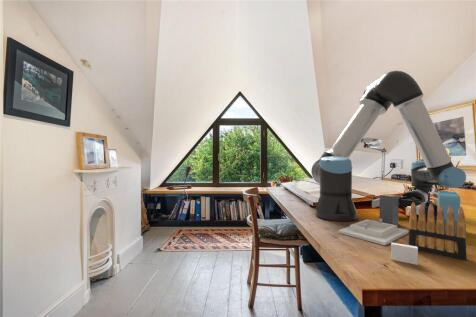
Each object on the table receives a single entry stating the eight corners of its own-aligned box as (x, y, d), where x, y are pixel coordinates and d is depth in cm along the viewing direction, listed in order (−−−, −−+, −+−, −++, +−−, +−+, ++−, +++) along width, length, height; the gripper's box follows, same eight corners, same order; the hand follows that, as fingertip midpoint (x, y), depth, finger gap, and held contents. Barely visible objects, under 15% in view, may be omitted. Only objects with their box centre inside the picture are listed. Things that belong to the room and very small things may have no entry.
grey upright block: (379, 224, 81) (379, 195, 81) (385, 221, 84) (385, 193, 84) (392, 226, 78) (392, 196, 78) (398, 224, 81) (398, 195, 81)
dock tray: (338, 232, 72) (338, 221, 72) (365, 223, 82) (365, 213, 82) (384, 245, 62) (384, 232, 62) (408, 232, 72) (408, 221, 72)
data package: (460, 238, 66) (460, 196, 66) (439, 235, 69) (439, 195, 69) (455, 228, 76) (455, 191, 76) (437, 226, 79) (437, 190, 78)
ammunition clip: (408, 248, 60) (408, 201, 59) (409, 246, 61) (409, 200, 61) (466, 261, 52) (467, 207, 52) (466, 258, 54) (466, 206, 54)
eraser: (418, 265, 51) (417, 248, 51) (391, 260, 53) (391, 243, 53) (417, 263, 52) (417, 246, 52) (391, 258, 54) (391, 242, 54)
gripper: (456, 215, 84) (439, 226, 72) (380, 204, 104) (357, 211, 91) (456, 194, 84) (439, 201, 71) (380, 187, 104) (357, 192, 91)
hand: (393, 207), depth 81 cm, fingers open, 13 cm apart
